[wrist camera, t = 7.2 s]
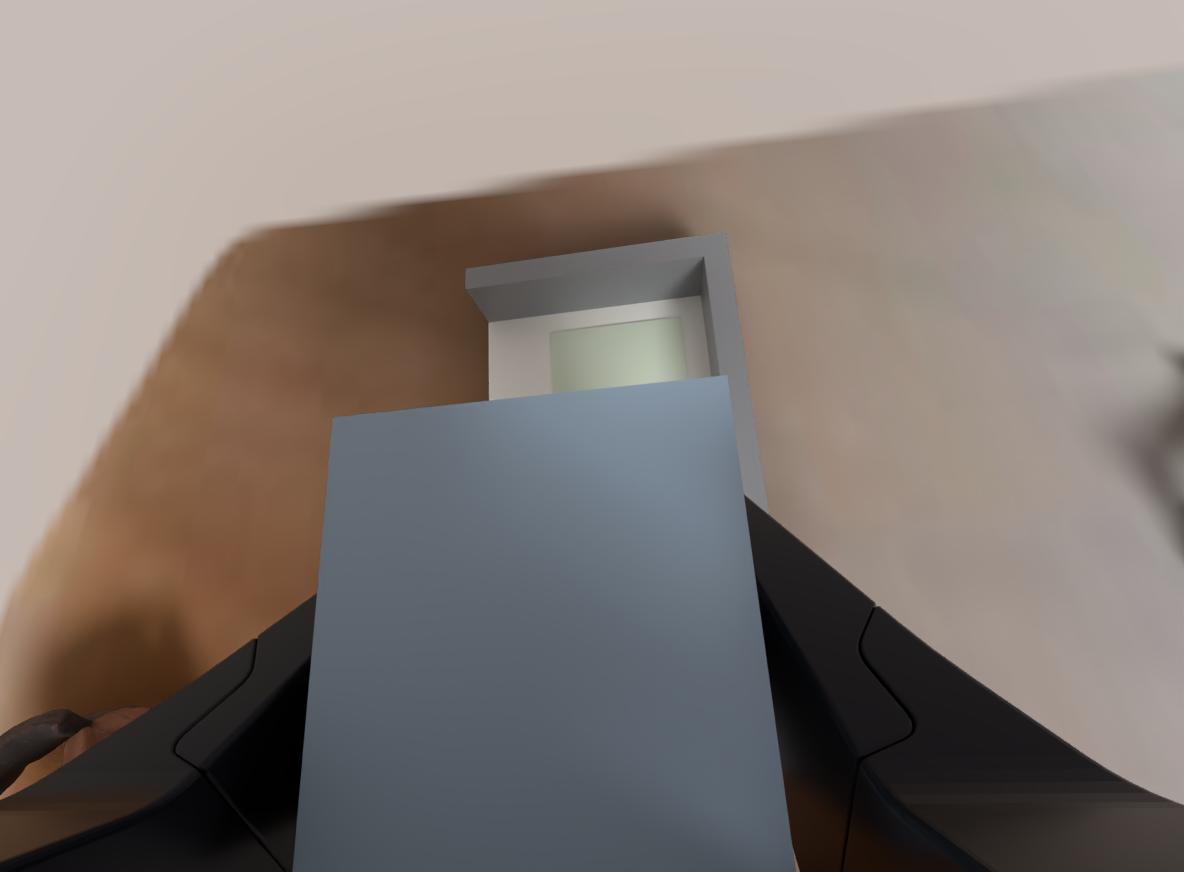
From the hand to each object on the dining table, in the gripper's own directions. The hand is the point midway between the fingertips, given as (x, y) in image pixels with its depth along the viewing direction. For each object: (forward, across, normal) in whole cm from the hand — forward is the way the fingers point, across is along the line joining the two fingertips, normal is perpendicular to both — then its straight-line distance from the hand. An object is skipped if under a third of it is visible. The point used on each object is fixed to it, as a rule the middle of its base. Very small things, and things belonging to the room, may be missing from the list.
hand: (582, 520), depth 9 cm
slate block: (+4, 0, +6) cm, 7 cm away
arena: (+14, +1, +5) cm, 15 cm away
